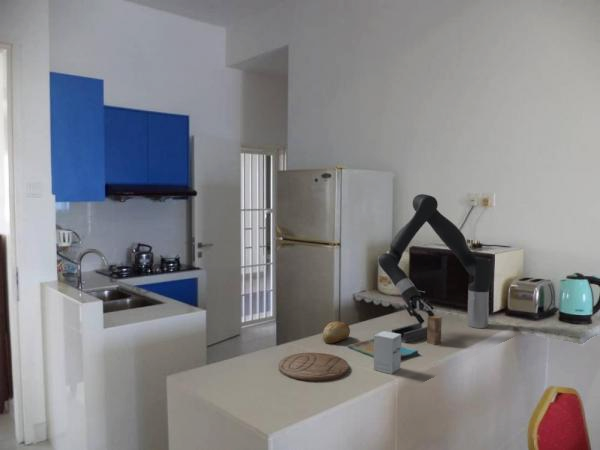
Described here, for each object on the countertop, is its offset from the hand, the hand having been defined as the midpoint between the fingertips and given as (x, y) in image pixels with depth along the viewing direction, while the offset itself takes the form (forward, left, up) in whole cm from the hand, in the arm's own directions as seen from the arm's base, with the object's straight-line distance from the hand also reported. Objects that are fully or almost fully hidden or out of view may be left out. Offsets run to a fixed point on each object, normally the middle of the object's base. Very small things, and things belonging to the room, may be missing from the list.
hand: (428, 321), depth 200 cm
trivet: (+60, -6, -9) cm, 61 cm away
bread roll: (+30, -25, -9) cm, 40 cm away
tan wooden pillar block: (0, +3, -9) cm, 9 cm away
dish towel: (+26, -3, -9) cm, 28 cm away
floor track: (0, -8, -9) cm, 12 cm away
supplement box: (+40, +11, -9) cm, 42 cm away
